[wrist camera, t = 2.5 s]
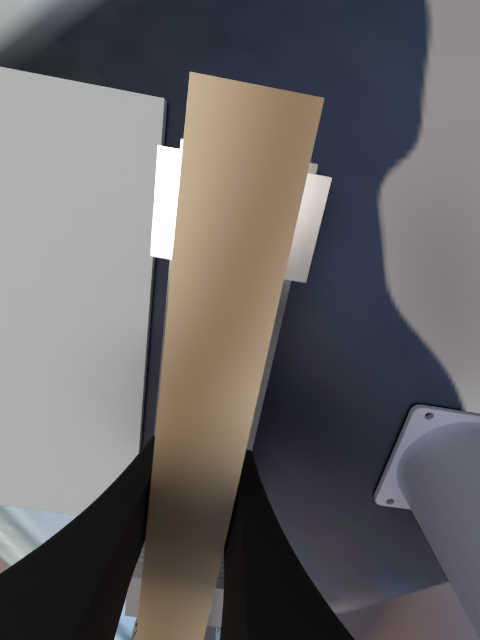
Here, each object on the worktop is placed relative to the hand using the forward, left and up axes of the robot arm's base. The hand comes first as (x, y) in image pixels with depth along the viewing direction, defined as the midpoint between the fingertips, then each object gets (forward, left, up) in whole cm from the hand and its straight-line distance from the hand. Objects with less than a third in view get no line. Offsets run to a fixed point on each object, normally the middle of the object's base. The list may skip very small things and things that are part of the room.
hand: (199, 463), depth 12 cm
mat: (+9, 0, -7) cm, 12 cm away
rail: (0, 0, 0) cm, 0 cm away
